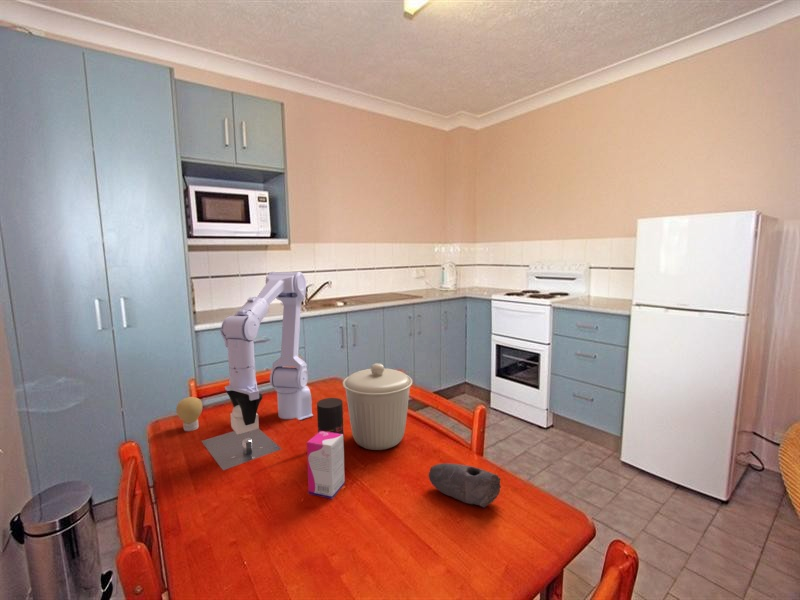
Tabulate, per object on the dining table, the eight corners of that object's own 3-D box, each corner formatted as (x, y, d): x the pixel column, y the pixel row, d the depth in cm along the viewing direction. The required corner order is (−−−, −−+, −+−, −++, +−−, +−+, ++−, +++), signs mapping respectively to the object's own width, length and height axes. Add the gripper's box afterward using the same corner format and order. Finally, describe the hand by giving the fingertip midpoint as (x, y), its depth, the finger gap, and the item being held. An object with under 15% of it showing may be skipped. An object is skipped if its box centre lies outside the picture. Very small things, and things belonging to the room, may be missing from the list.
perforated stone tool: (423, 492, 81) (423, 461, 80) (434, 479, 85) (434, 450, 84) (492, 518, 73) (493, 484, 72) (501, 503, 77) (502, 470, 76)
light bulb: (209, 427, 111) (206, 393, 110) (195, 438, 105) (192, 402, 104) (188, 426, 112) (185, 393, 110) (173, 437, 105) (170, 402, 104)
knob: (231, 426, 94) (229, 405, 94) (252, 421, 97) (251, 400, 97) (237, 434, 90) (235, 412, 90) (258, 428, 94) (257, 407, 93)
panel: (254, 428, 110) (253, 414, 109) (282, 453, 97) (281, 436, 96) (201, 445, 101) (200, 429, 100) (223, 475, 87) (222, 456, 87)
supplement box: (345, 483, 84) (344, 433, 83) (332, 499, 79) (330, 446, 77) (322, 478, 86) (320, 429, 85) (307, 494, 80) (305, 442, 79)
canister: (401, 421, 114) (401, 352, 111) (421, 452, 97) (421, 371, 94) (340, 429, 109) (338, 357, 106) (349, 463, 92) (347, 378, 89)
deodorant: (349, 459, 94) (347, 400, 92) (334, 472, 88) (333, 409, 86) (328, 454, 96) (326, 396, 94) (313, 466, 91) (311, 405, 89)
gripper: (215, 362, 95) (218, 415, 97) (235, 376, 84) (238, 435, 86) (244, 356, 99) (247, 407, 101) (266, 369, 89) (269, 426, 90)
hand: (245, 419), depth 94 cm, fingers closed on knob, 5 cm apart
